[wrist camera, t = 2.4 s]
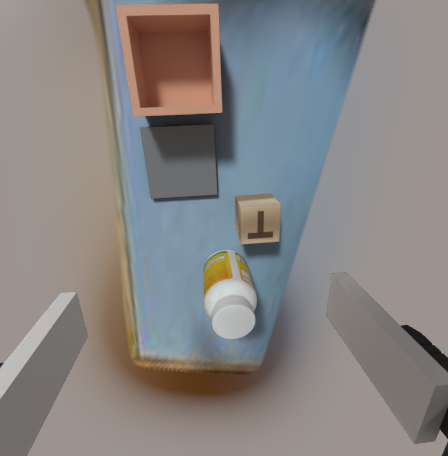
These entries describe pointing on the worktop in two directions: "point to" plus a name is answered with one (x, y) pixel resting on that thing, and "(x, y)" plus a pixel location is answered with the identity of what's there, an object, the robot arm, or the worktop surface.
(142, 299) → the worktop surface
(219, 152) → the worktop surface
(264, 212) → the letter cube
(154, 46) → the pink square bin
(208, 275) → the supplement bottle
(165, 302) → the worktop surface
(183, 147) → the slate coaster
